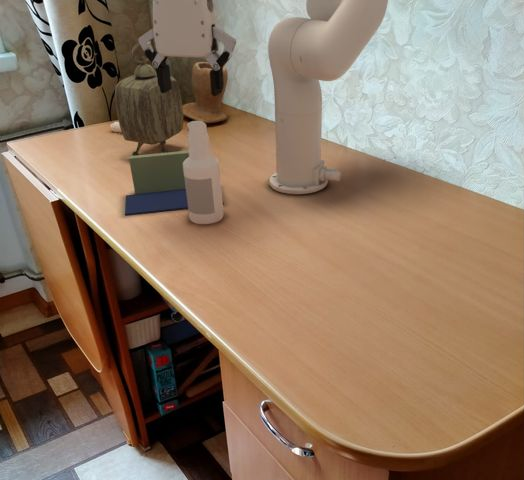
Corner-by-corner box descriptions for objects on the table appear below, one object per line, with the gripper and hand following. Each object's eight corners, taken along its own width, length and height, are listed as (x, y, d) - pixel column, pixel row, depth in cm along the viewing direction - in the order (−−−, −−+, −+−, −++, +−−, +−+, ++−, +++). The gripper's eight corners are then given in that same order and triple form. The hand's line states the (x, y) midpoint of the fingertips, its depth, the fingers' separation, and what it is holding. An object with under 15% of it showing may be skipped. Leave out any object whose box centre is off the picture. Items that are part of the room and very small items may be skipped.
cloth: (223, 205, 118) (223, 203, 118) (125, 215, 116) (124, 213, 115) (218, 187, 125) (218, 185, 125) (126, 196, 123) (125, 195, 123)
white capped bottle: (186, 213, 115) (174, 120, 104) (219, 208, 117) (210, 116, 106) (193, 227, 110) (181, 131, 99) (227, 221, 111) (219, 126, 100)
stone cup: (238, 121, 164) (234, 63, 155) (201, 129, 159) (195, 70, 150) (213, 110, 175) (208, 55, 165) (177, 117, 170) (170, 61, 161)
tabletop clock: (162, 142, 152) (147, 36, 136) (189, 147, 148) (177, 38, 133) (125, 159, 142) (104, 47, 127) (153, 165, 138) (135, 50, 123)
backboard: (209, 187, 126) (205, 151, 121) (135, 195, 124) (128, 158, 119) (208, 185, 127) (204, 148, 122) (135, 192, 125) (128, 156, 120)
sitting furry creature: (139, 123, 166) (132, 79, 159) (155, 129, 161) (148, 83, 153) (110, 131, 162) (101, 85, 154) (125, 137, 156) (116, 90, 149)
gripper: (240, -27, 90) (245, 90, 100) (142, -27, 95) (156, 85, 105) (222, -23, 84) (229, 100, 94) (119, -22, 89) (136, 95, 99)
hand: (191, 92), depth 100 cm, fingers open, 9 cm apart
